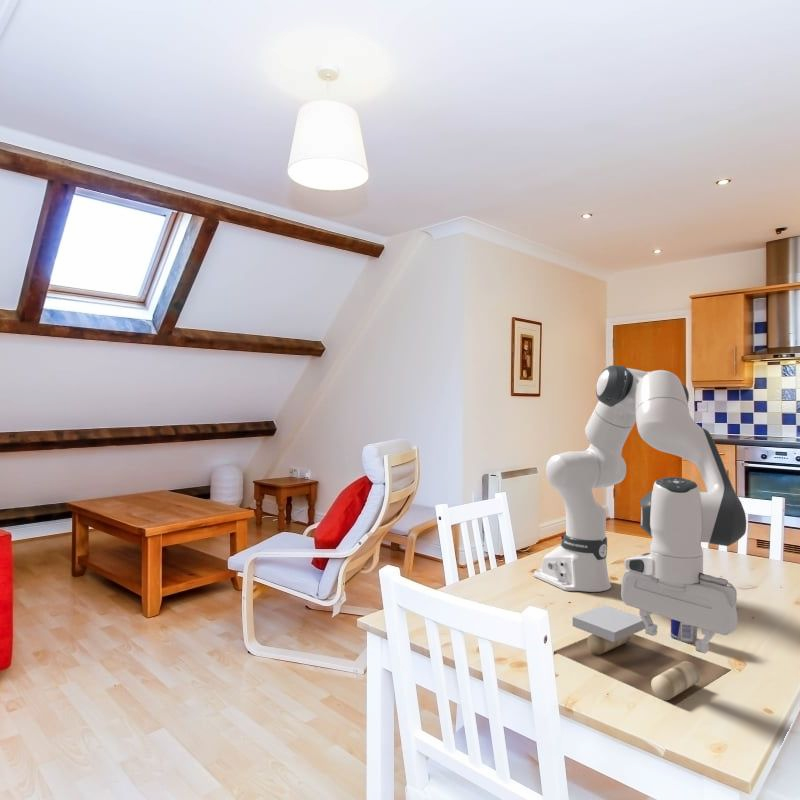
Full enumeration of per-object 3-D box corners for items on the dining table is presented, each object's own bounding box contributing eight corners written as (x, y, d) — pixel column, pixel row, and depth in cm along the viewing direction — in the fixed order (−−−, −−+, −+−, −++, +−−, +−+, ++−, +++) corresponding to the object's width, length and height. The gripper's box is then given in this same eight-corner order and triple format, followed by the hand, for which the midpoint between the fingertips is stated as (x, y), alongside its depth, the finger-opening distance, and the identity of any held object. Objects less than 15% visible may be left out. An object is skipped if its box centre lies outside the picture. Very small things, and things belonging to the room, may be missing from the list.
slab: (572, 626, 124) (572, 616, 124) (605, 613, 131) (605, 604, 131) (614, 642, 116) (614, 632, 116) (646, 628, 123) (646, 618, 123)
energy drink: (674, 632, 134) (674, 581, 134) (699, 638, 131) (700, 586, 131) (667, 639, 130) (668, 586, 130) (693, 646, 127) (694, 592, 127)
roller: (648, 689, 105) (655, 671, 104) (676, 673, 111) (683, 656, 110) (668, 705, 102) (675, 687, 101) (695, 688, 108) (703, 671, 107)
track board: (553, 656, 122) (553, 632, 122) (613, 630, 135) (613, 609, 135) (674, 710, 101) (674, 682, 101) (731, 674, 114) (731, 649, 114)
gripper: (744, 578, 100) (744, 658, 100) (634, 553, 116) (634, 621, 116) (728, 585, 96) (727, 668, 96) (616, 558, 112) (616, 629, 112)
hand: (675, 642), depth 106 cm, fingers open, 8 cm apart
